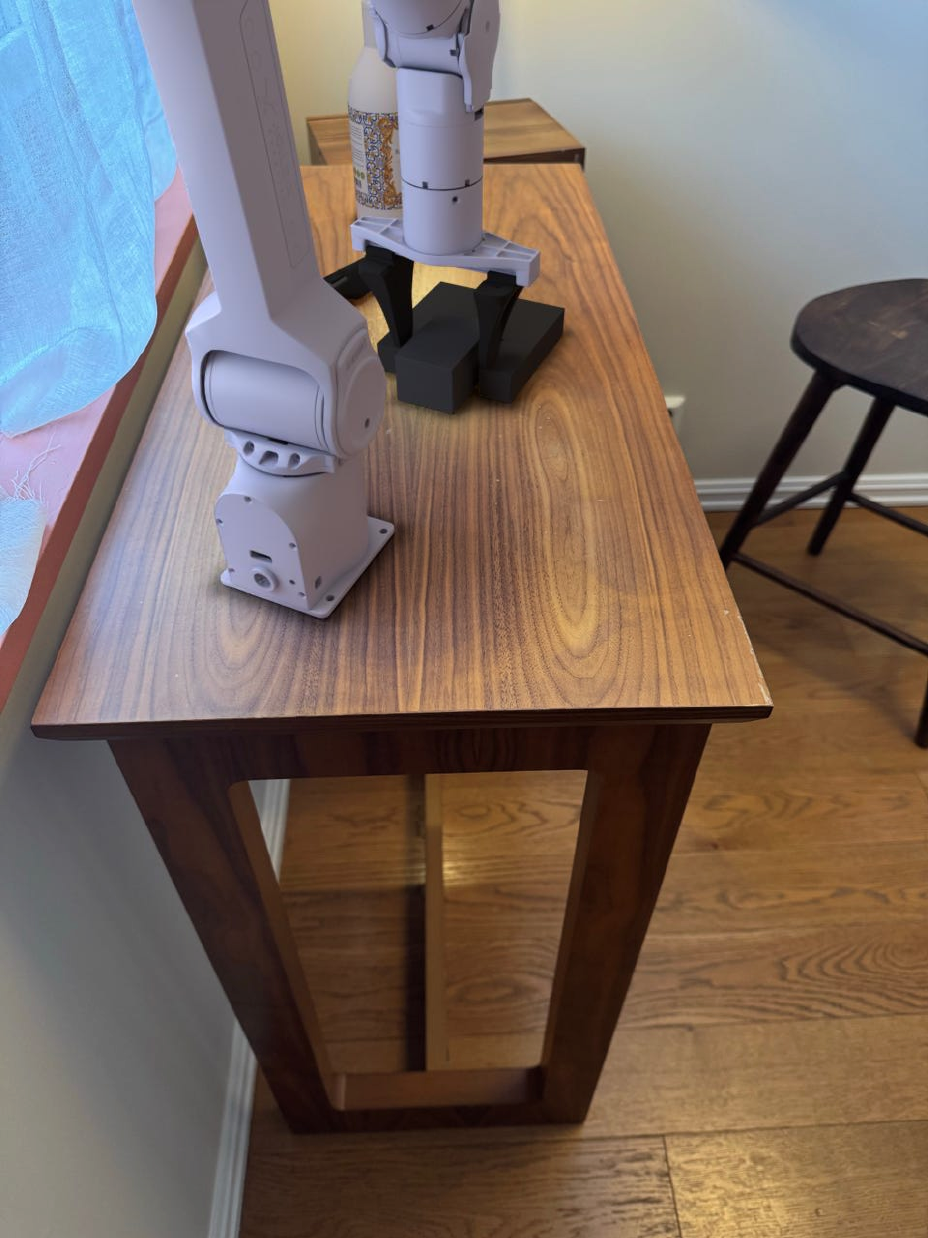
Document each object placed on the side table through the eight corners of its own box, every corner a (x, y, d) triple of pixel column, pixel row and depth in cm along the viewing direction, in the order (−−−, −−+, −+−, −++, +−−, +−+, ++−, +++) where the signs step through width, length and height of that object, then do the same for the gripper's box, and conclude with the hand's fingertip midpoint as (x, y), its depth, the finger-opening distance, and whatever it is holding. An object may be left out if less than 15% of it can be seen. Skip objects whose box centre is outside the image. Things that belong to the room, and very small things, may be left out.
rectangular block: (440, 352, 78) (439, 309, 76) (493, 365, 77) (494, 321, 74) (397, 400, 73) (394, 355, 71) (453, 414, 72) (452, 369, 69)
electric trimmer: (410, 279, 88) (409, 247, 86) (296, 343, 79) (291, 309, 77) (381, 268, 90) (379, 236, 87) (266, 330, 81) (260, 296, 79)
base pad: (510, 403, 73) (511, 376, 71) (378, 370, 77) (376, 343, 75) (563, 334, 80) (565, 307, 79) (441, 306, 84) (440, 280, 82)
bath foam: (387, 240, 93) (372, 12, 79) (344, 220, 97) (323, -3, 82) (436, 220, 97) (431, -2, 82) (393, 201, 100) (381, -16, 86)
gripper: (560, 170, 64) (548, 346, 73) (377, 139, 68) (389, 309, 78) (522, 208, 59) (514, 391, 69) (329, 172, 63) (347, 349, 73)
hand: (445, 351), depth 73 cm, fingers open, 7 cm apart
